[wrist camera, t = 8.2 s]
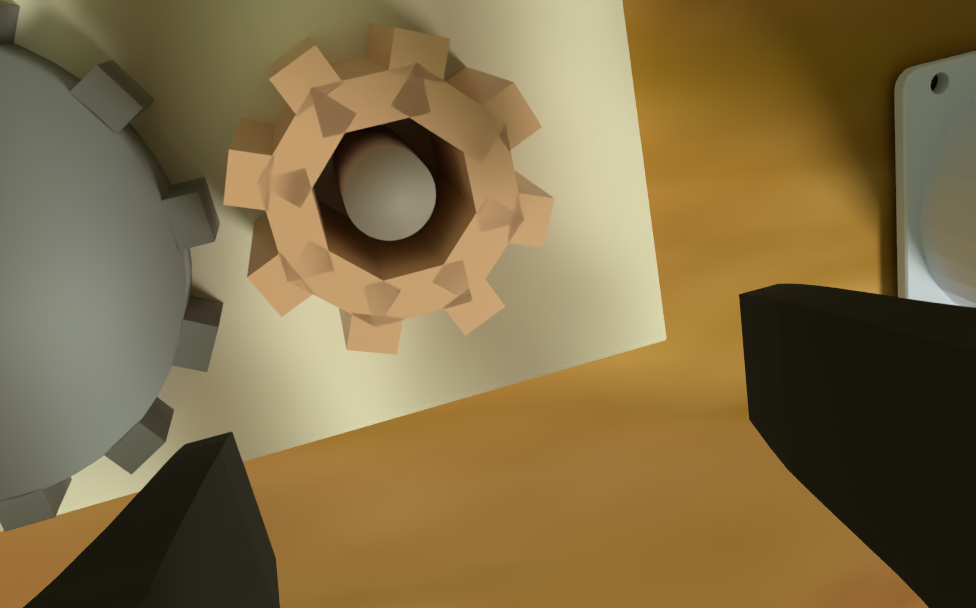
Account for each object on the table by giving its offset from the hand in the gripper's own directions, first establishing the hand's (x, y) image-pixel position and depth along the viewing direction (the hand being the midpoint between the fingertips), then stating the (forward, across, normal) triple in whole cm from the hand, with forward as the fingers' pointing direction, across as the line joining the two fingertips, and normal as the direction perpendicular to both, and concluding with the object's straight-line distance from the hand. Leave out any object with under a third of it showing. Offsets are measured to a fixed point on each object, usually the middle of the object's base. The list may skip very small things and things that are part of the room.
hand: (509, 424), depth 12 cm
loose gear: (+8, +1, -2) cm, 8 cm away
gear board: (+9, +5, -2) cm, 10 cm away
